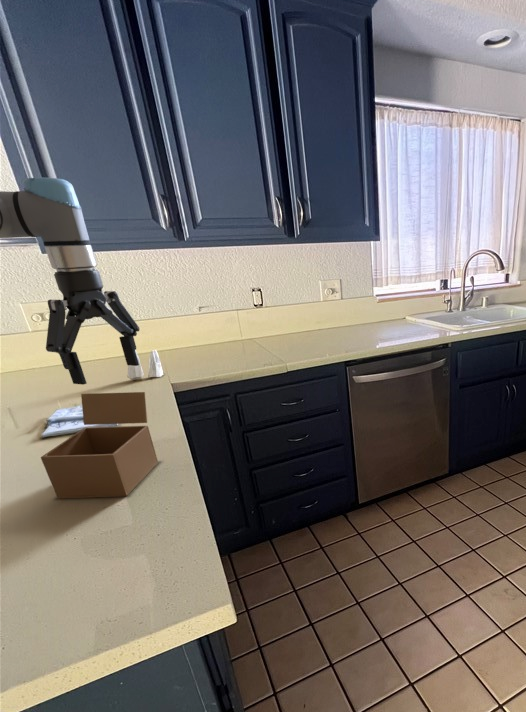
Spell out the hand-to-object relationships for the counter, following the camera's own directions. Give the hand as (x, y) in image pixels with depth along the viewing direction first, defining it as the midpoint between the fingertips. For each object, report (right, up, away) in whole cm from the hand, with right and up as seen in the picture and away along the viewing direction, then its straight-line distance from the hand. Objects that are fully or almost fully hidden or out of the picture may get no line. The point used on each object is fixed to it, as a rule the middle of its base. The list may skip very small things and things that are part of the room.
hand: (108, 374), depth 93 cm
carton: (+1, -23, 0) cm, 23 cm away
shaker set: (-29, +7, +67) cm, 73 cm away
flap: (0, -7, +2) cm, 8 cm away
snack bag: (-26, -10, +31) cm, 41 cm away
